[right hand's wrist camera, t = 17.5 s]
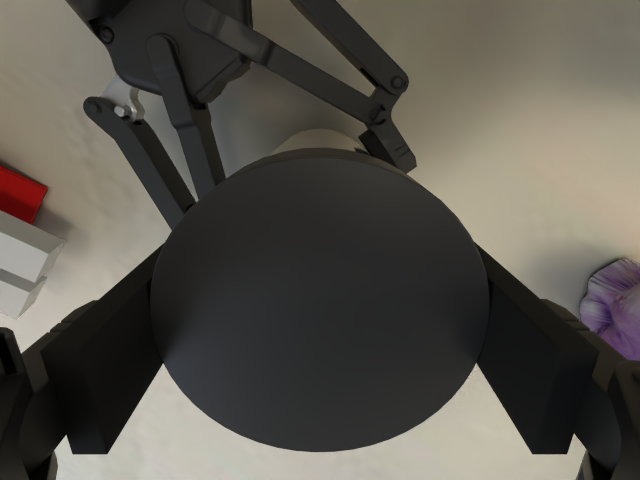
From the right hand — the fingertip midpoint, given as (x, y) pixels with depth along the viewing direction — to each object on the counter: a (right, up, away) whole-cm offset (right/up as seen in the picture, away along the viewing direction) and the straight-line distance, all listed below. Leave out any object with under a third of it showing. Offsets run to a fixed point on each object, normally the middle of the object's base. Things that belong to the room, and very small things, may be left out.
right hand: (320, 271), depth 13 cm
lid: (0, -1, -3) cm, 3 cm away
